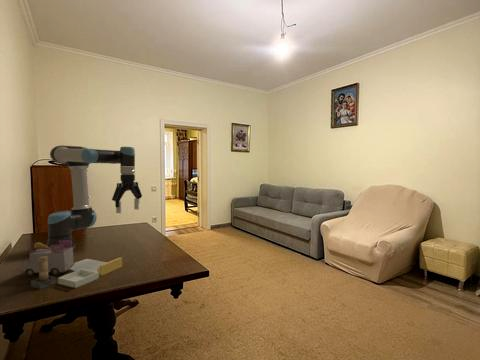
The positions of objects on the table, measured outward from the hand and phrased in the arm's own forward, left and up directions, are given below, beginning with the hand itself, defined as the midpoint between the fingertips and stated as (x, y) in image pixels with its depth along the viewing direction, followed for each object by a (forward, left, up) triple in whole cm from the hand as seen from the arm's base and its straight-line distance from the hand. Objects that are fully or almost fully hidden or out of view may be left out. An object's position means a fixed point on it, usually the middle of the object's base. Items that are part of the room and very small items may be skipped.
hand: (128, 211), depth 148 cm
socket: (-5, -42, -26) cm, 50 cm away
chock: (+9, -20, -26) cm, 34 cm away
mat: (-4, -20, -26) cm, 33 cm away
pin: (-5, -42, -26) cm, 50 cm away
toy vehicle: (-16, -33, -26) cm, 45 cm away
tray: (+6, -34, -26) cm, 43 cm away
